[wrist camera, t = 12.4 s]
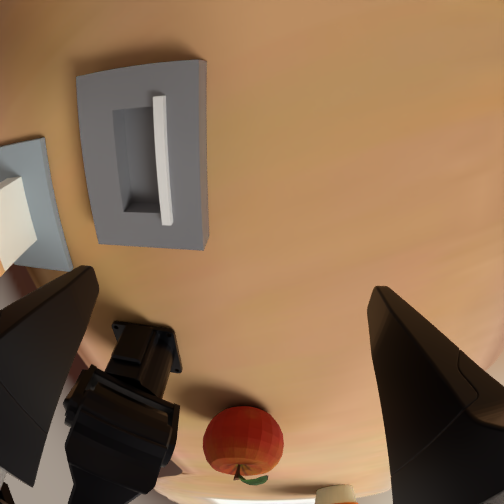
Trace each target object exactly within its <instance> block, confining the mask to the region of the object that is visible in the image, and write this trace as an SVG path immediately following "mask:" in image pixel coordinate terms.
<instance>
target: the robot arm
mask: <svg viewBox="0 0 504 504" xmlns="http://www.w3.org/2000/svg"><path fill="white" fill-rule="evenodd" d="M98 293H99V285H98V281H97V278H96V274H95V271H94V269H93V267H91V266H85V265H81V266H79V267H77V268H75V269H73V270H72V271H70V272H68V273H66V274H64V275H62V276H60V277H58V278H56V279H55V280H53V281H51V282H49V283H47V284H45V285H44V286H42V287H40V288H38V289H36V290H35V291H33V292H31V293H29V294H27V295H26V296H24V297H22V298H20V299H19V300H17V301H15V302H13V303H12V304H10V305H8V306H7V307H5V308H3V310H0V504H15V503H14V501H13V498H12V495H11V493H10V490H9V487H8V484H6V483H5V482H4V478H5V476H6V473H9V474H10V475H12V476H13V477H15V478H17V479H18V480H20V481H22V482H23V483H25V484H27V485H29V486H31V487H33V486H34V483H35V479H36V475H37V471H38V467H39V463H40V459H41V455H42V452H43V448H44V444H45V441H46V438H47V434H48V431H49V428H50V424H51V421H52V418H53V415H54V412H55V409H56V406H57V403H58V400H59V397H60V395H61V392H62V389H63V386H64V384H65V381H66V378H67V376H68V373H69V371H70V368H71V365H72V363H73V360H74V358H75V355H76V353H77V351H78V348H79V346H80V343H81V341H82V339H83V336H84V334H85V331H86V329H87V326H88V323H89V320H90V317H91V314H92V311H93V308H94V305H95V302H96V299H97V296H98ZM367 316H368V325H369V335H370V345H371V354H372V360H373V365H374V370H375V375H376V380H377V386H378V391H379V397H380V403H381V408H382V415H383V421H384V427H385V434H386V441H387V449H388V456H389V465H390V474H391V485H392V495H393V504H504V386H503V385H501V384H500V383H499V382H498V381H496V380H495V379H494V378H493V377H491V376H490V375H489V374H488V373H486V372H485V371H484V370H483V369H482V368H480V367H479V366H478V365H477V364H476V363H475V362H474V361H473V360H471V359H470V358H469V357H468V356H467V355H466V354H465V353H464V352H463V351H462V350H459V348H458V347H457V346H456V345H455V344H454V343H453V342H452V341H450V340H449V339H448V338H447V337H446V336H445V335H444V334H443V333H441V332H440V331H439V330H438V329H437V328H436V327H435V326H434V325H432V324H431V323H430V322H429V321H428V320H427V319H426V318H424V317H423V316H422V315H421V314H420V313H419V312H417V311H416V310H415V309H414V308H413V307H412V306H410V305H409V304H408V303H407V302H406V301H405V300H403V299H402V298H401V297H400V296H399V295H397V294H396V293H395V292H394V291H393V290H391V289H390V288H389V287H387V286H376V287H374V289H373V292H372V295H371V298H370V301H369V304H368V308H367ZM112 329H113V331H114V334H115V337H116V340H117V344H116V346H115V348H114V350H113V352H112V355H111V358H110V361H109V363H108V365H107V367H106V369H105V372H104V371H102V370H100V369H98V368H97V367H96V366H94V365H92V364H91V366H90V368H89V369H88V370H82V371H81V374H80V375H79V377H78V379H77V381H76V383H75V385H74V386H73V388H72V389H71V391H70V392H69V394H68V395H67V397H66V398H65V400H64V402H63V405H64V408H65V410H66V413H65V416H66V418H65V425H67V426H69V427H71V428H70V432H69V434H68V437H67V439H66V442H65V451H66V455H67V460H68V464H69V468H70V472H71V476H72V479H73V483H74V485H73V489H72V492H71V495H70V498H69V501H68V504H128V503H129V502H131V501H132V500H134V499H135V498H136V497H138V496H139V495H140V494H147V493H148V492H149V491H151V490H152V489H153V488H154V487H155V485H156V481H157V477H158V474H159V471H160V468H161V467H165V466H166V465H167V464H168V462H169V461H170V459H171V456H172V454H173V451H174V448H175V445H176V440H177V431H178V421H179V411H180V405H178V404H175V403H174V404H173V403H170V402H168V401H165V400H163V399H162V398H163V394H164V391H165V388H166V384H167V381H168V378H169V374H170V372H173V373H181V372H182V364H181V359H180V355H179V350H178V345H177V340H176V335H175V332H174V330H172V329H169V328H162V327H154V326H147V325H140V324H133V323H126V322H120V321H114V322H113V324H112Z"/></svg>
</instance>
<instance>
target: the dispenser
mask: <svg viewBox="0 0 504 504" xmlns="http://www.w3.org/2000/svg"><path fill="white" fill-rule="evenodd" d="M206 71H207V61H204V60H183V61H171V62H160V63H152V64H144V65H136V66H129V67H123V68H117V69H111V70H106V71H100V72H95V73H91V74H86V75H82V76H77V77H76V87H77V104H78V117H79V128H80V138H81V147H82V155H83V162H84V169H85V176H86V182H87V188H88V194H89V199H90V205H91V210H92V215H93V220H94V224H95V229H96V234H97V238H98V242H99V244H107V245H123V246H139V247H155V248H171V249H187V250H203V251H204V248H205V246H206V243H207V240H208V238H209V218H208V188H207V139H206Z"/></svg>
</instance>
